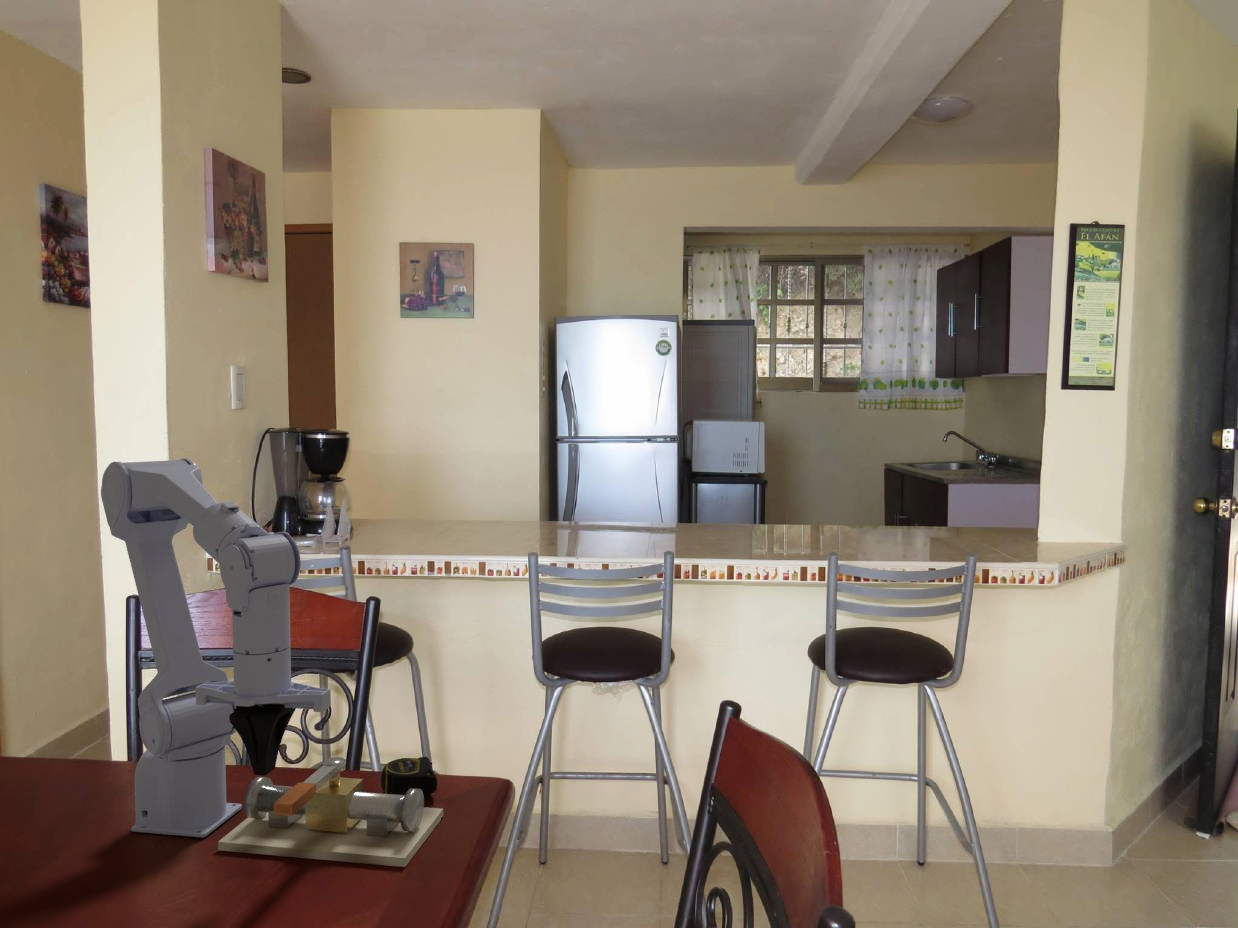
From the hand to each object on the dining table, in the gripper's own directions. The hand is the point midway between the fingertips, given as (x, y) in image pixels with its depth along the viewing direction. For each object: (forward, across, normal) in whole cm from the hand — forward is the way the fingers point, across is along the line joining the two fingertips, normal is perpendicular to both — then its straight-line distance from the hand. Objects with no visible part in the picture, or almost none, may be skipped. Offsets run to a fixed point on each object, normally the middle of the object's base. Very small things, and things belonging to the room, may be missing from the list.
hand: (264, 771), depth 97 cm
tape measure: (+11, +9, +20) cm, 25 cm away
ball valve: (+10, +4, +8) cm, 14 cm away
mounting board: (+10, +4, +8) cm, 14 cm away
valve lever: (+3, +4, +3) cm, 6 cm away
